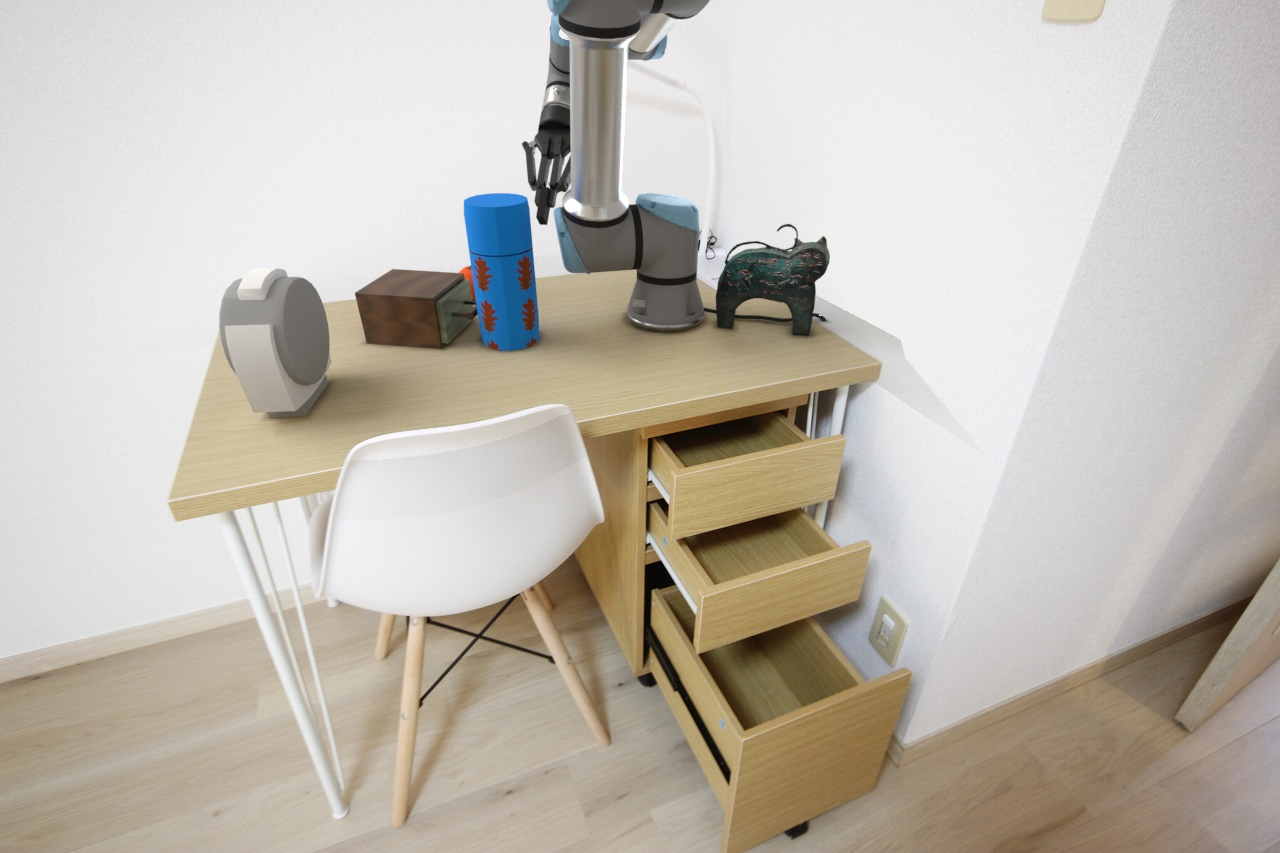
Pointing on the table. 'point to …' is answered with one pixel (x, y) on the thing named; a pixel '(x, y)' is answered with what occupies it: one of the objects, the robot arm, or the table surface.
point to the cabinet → (404, 307)
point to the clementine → (468, 275)
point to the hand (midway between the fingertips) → (541, 220)
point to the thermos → (503, 269)
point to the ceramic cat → (773, 280)
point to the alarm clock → (276, 341)
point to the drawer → (455, 310)
